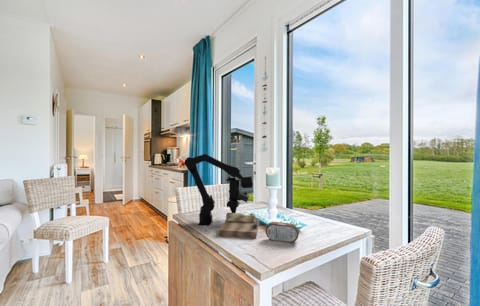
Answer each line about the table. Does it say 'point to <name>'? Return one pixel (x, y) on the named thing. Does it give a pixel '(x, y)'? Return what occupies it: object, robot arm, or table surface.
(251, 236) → the stool seat
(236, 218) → the stool leg
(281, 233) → the retro speaker
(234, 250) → the table surface
